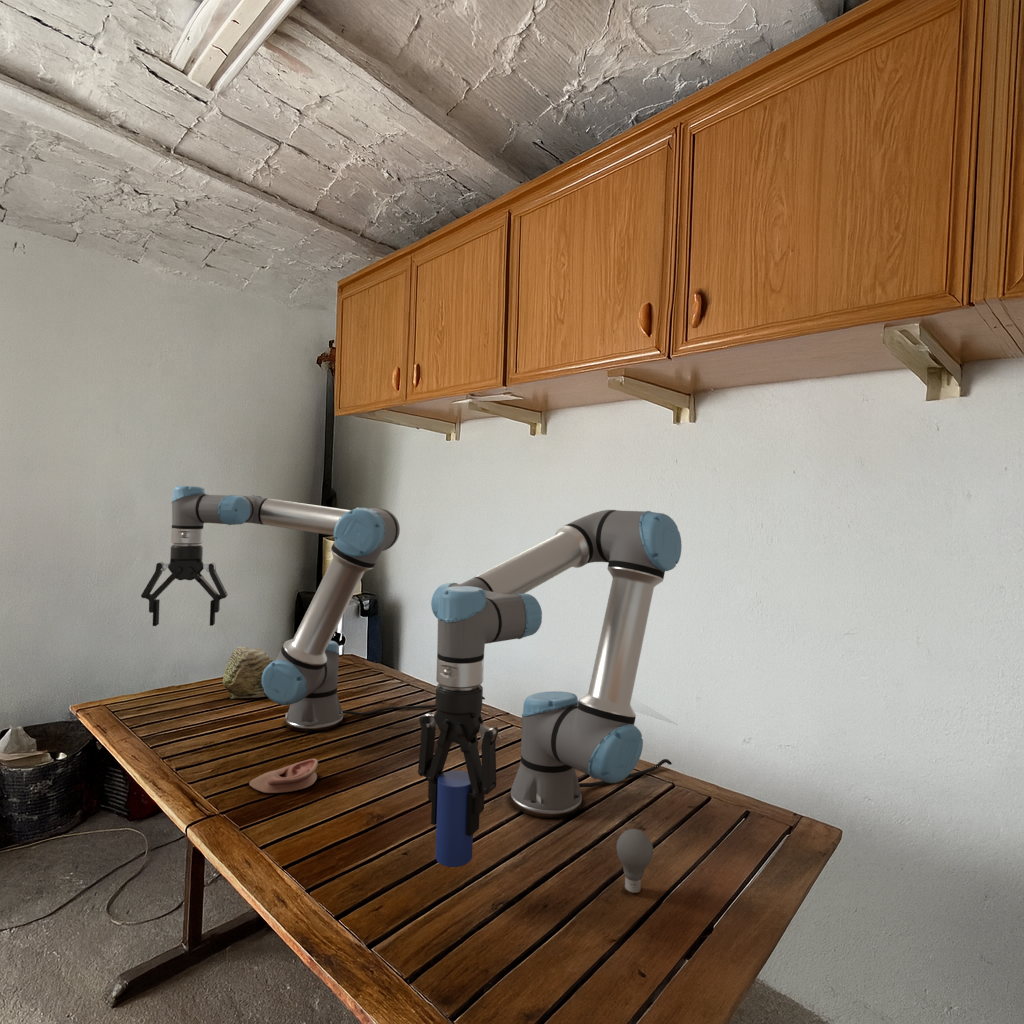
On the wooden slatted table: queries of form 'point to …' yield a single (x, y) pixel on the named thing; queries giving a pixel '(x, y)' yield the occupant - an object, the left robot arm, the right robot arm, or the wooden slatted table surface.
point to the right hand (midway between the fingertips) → (454, 826)
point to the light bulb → (634, 857)
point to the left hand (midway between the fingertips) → (184, 625)
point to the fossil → (246, 672)
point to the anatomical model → (287, 778)
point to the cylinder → (453, 820)
